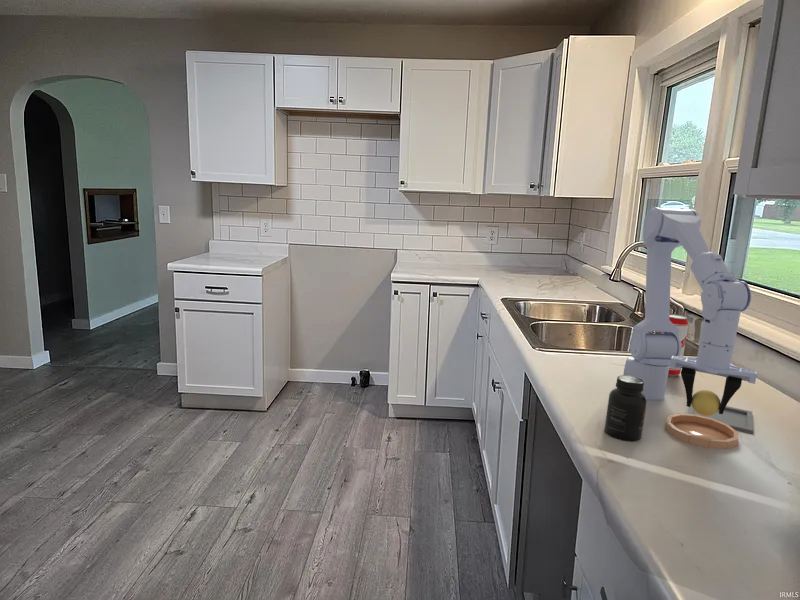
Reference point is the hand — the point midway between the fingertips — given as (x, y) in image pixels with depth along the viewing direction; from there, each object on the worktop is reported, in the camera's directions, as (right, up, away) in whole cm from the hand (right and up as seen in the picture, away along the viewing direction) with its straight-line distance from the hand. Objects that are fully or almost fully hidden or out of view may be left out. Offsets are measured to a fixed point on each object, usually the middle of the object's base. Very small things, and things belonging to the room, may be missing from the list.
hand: (704, 408), depth 108 cm
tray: (+9, -4, +11) cm, 15 cm away
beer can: (+12, +1, +40) cm, 42 cm away
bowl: (0, -6, +1) cm, 6 cm away
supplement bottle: (-17, -6, -1) cm, 18 cm away
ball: (0, -1, 0) cm, 1 cm away
